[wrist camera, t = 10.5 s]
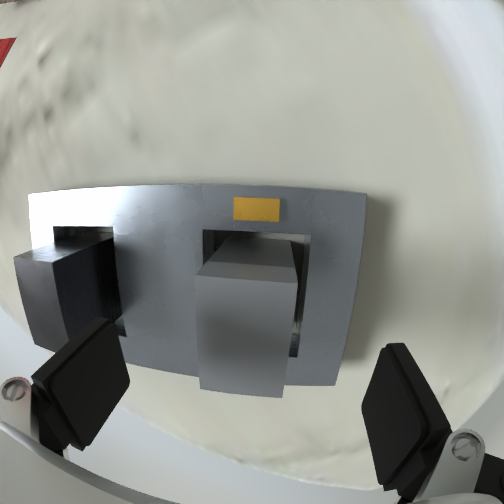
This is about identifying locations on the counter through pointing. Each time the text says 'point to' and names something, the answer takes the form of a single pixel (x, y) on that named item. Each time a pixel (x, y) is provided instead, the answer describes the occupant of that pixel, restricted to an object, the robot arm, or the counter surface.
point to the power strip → (184, 266)
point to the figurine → (5, 47)
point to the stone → (5, 0)
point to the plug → (246, 316)
